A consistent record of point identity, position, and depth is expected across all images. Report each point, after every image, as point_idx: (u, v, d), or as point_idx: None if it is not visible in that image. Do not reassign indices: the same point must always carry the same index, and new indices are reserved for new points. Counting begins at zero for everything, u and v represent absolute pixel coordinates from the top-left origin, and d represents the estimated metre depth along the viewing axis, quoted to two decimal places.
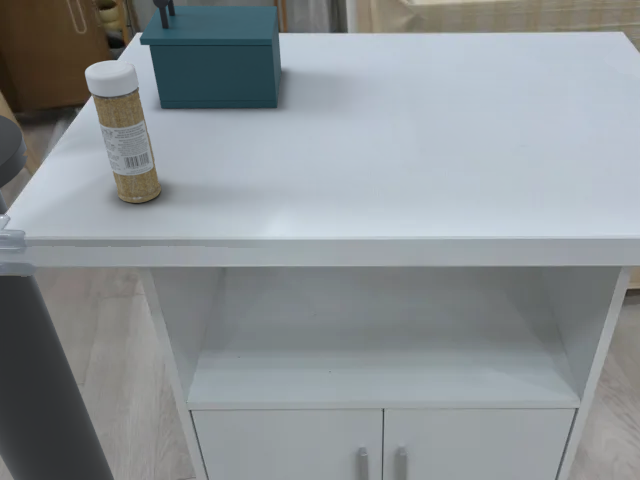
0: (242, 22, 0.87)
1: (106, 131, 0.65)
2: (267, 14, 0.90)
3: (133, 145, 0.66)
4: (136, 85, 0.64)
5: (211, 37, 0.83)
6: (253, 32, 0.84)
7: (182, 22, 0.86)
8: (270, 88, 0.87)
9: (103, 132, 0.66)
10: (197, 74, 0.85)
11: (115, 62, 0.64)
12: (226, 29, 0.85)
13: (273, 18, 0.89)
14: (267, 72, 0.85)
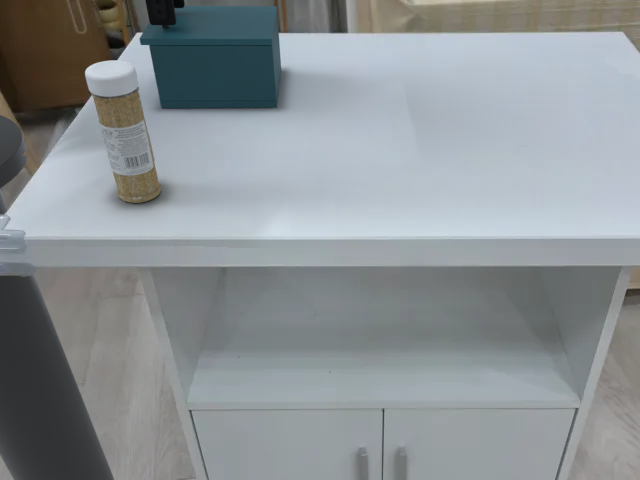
0: (242, 22, 0.87)
1: (106, 131, 0.65)
2: (267, 14, 0.90)
3: (133, 145, 0.66)
4: (136, 85, 0.64)
5: (211, 37, 0.83)
6: (253, 32, 0.84)
7: (182, 22, 0.86)
8: (270, 88, 0.87)
9: (103, 132, 0.66)
10: (197, 74, 0.85)
11: (115, 62, 0.64)
12: (226, 29, 0.85)
13: (273, 18, 0.89)
14: (267, 72, 0.85)
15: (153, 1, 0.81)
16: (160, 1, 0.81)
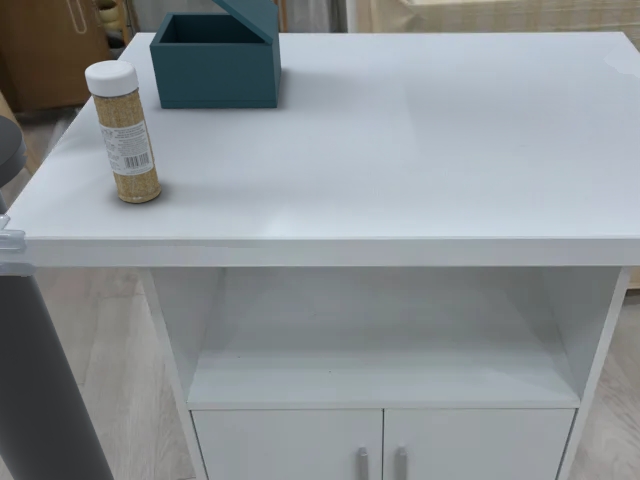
0: (249, 2, 0.85)
1: (106, 131, 0.65)
2: (270, 10, 0.89)
3: (133, 145, 0.66)
4: (136, 85, 0.64)
5: None
6: (258, 20, 0.83)
7: None
8: (270, 88, 0.87)
9: (103, 132, 0.66)
10: (197, 74, 0.85)
11: (115, 62, 0.64)
12: None
13: (275, 18, 0.88)
14: (267, 72, 0.85)
15: None
16: None
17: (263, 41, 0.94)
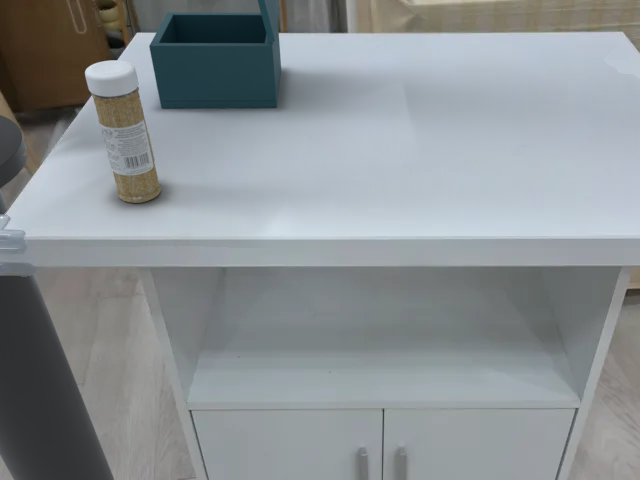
0: None
1: (106, 131, 0.65)
2: (276, 8, 0.89)
3: (133, 145, 0.66)
4: (136, 85, 0.64)
5: None
6: (270, 15, 0.83)
7: None
8: (270, 88, 0.87)
9: (103, 132, 0.66)
10: (197, 74, 0.85)
11: (115, 62, 0.64)
12: None
13: (277, 19, 0.89)
14: (267, 72, 0.85)
15: None
16: None
17: (263, 41, 0.94)
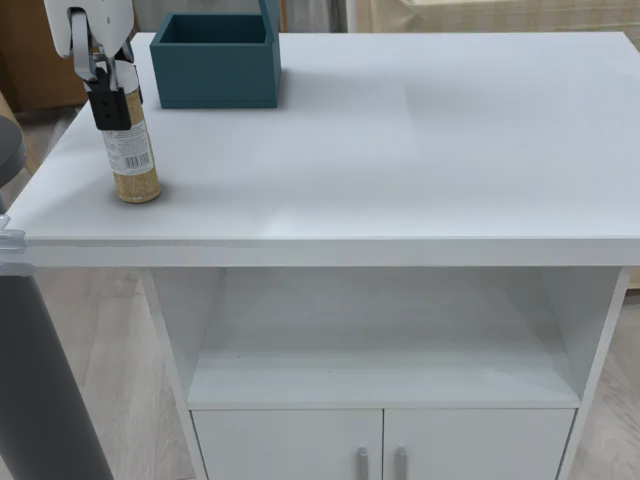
0: None
1: (106, 131, 0.65)
2: (276, 8, 0.89)
3: (133, 145, 0.66)
4: (136, 85, 0.64)
5: None
6: (271, 15, 0.83)
7: None
8: (270, 88, 0.87)
9: (103, 132, 0.66)
10: (197, 74, 0.85)
11: (115, 62, 0.64)
12: None
13: (277, 19, 0.89)
14: (267, 72, 0.85)
15: (99, 103, 0.61)
16: (109, 103, 0.61)
17: (263, 41, 0.94)
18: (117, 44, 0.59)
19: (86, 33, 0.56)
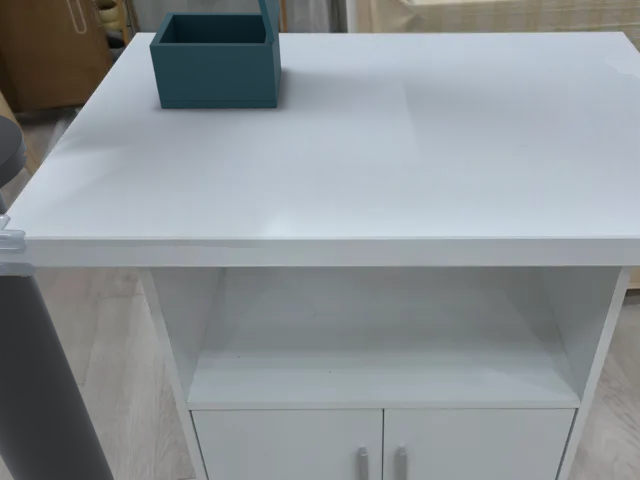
0: None
1: None
2: (276, 8, 0.89)
3: None
4: None
5: None
6: (271, 15, 0.83)
7: None
8: (270, 88, 0.87)
9: None
10: (197, 74, 0.85)
11: None
12: None
13: (277, 19, 0.89)
14: (267, 72, 0.85)
15: None
16: None
17: (263, 41, 0.94)
18: None
19: None
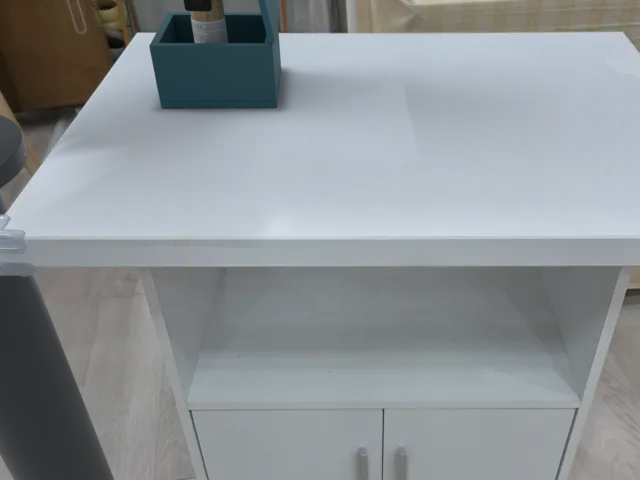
0: None
1: (197, 25, 0.86)
2: (276, 8, 0.89)
3: (216, 37, 0.87)
4: None
5: None
6: (271, 15, 0.83)
7: None
8: (270, 88, 0.87)
9: (194, 26, 0.86)
10: (197, 74, 0.85)
11: None
12: None
13: (277, 19, 0.89)
14: (267, 72, 0.85)
15: None
16: None
17: (263, 41, 0.94)
18: None
19: None
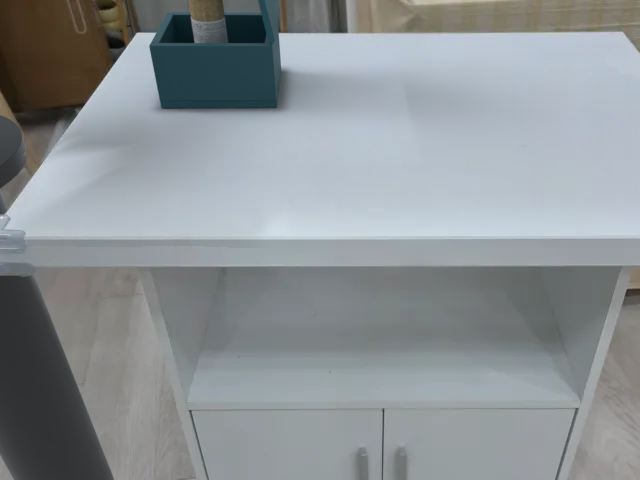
0: None
1: (197, 25, 0.86)
2: (276, 8, 0.89)
3: (216, 37, 0.87)
4: None
5: None
6: (271, 15, 0.83)
7: None
8: (270, 88, 0.87)
9: (194, 26, 0.86)
10: (197, 74, 0.85)
11: None
12: None
13: (277, 19, 0.89)
14: (267, 72, 0.85)
15: None
16: None
17: (263, 41, 0.94)
18: None
19: None
